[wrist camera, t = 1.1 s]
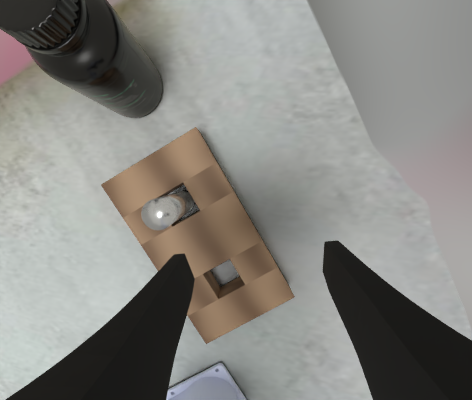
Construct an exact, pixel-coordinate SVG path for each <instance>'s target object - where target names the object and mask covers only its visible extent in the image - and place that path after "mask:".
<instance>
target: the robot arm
mask: <svg viewBox="0 0 472 400" xmlns="http://www.w3.org/2000/svg"><path fill="white" fill-rule="evenodd" d="M323 273H324V277H325V280H326V283H327V286H328V289H329V292H330V294H331V296H332V299H333V301H334V303H335V305H336V308H337V310H338V312H339V314H340V317H341V319H342V321H343V323H344V325H345V328H346V330H347V332H348V334H349V336H350V339H351V341H352V343H353V346H354V348H355V350H356V353H357V355H358V358H359V361H360V364H361V366H362V369H363V372H364V375H365V378H366V380H367V383H368V386H369V389H370V392H371V395H372V398H373V400H472V341H471V340H470V339H468V338H466V337H465V336H463V335H462V334H460V333H458V332H457V331H455V330H454V329H452V328H451V327H449V326H447V325H446V324H444V323H443V322H441V321H440V320H438V319H437V318H435V317H434V316H432V315H431V314H429V313H428V312H427V311H425V310H424V309H422V308H421V307H419V306H418V305H416V304H415V303H414V302H412V301H411V300H409V299H408V298H407V297H405V296H404V295H403V294H401V293H400V292H399V291H397V290H396V289H395V288H393V287H392V286H391V285H390V284H388V283H387V282H386V281H385V280H383V279H382V278H381V277H380V276H378V275H377V274H376V273H375V272H374V271H372V270H371V269H370V268H369V267H367V266H366V265H365V264H364V263H363V262H362V261H361V260H359V259H358V258H357V257H356V256H355V255H354V254H353V253H351V252H350V251H349V250H348V249H347V248H346V247H345V246H344V245H342V244H341V243H340V242H339V241H328V242H325V245H324V260H323ZM194 282H195V278H194V276H193V273H192V271H191V268H190V266H189V263H188V261H187V258H186V255H185V253H183V254H174V255H173V256H172V257H171V258H170V259H169V260H168V261H167V262H166V263H165V265H164V266H163V267H162V268H161V269H160V270H159V271H158V272H157V273H156V275H155V276H154V277H153V278H152V279H151V280H150V281H149V282H148V283H147V284H146V285H145V286H144V288H143V289H142V290H141V291H140V292H139V293H138V294H137V295H136V296H135V297H134V298H133V299H132V300H131V301H130V302H129V303H128V304H127V305H126V306H125V307H124V308H123V309H122V310H121V311H120V312H118V313H117V314H116V315H115V316H114V317H113V318H112V319H111V320H110V321H109V322H107V323H106V324H105V325H104V326H103V327H102V328H101V329H100V330H98V331H97V332H96V333H95V334H94V335H92V336H91V337H90V338H89V339H87V340H86V341H85V342H84V343H82V344H81V345H80V346H79V347H78V348H76V349H75V350H74V351H73V352H71V353H70V354H69V355H67V356H66V357H65V358H64V359H62V360H61V361H60V362H58V363H57V364H56V365H54V366H53V367H52V368H50V369H49V370H47V371H46V372H45V373H43V374H42V375H41V376H39V377H38V378H36V379H35V380H34V381H32V382H31V383H29V384H28V385H26V386H25V387H24V388H22V389H21V390H19V391H18V392H16V393H15V394H13V395H12V396H10V397H9V398H7V399H6V400H247V399H246V398H245V396H244V395H243V393H242V392H241V390H240V389H239V387H238V386H237V384H236V383H235V381H234V380H233V378H232V377H231V375H230V374H229V372H228V371H227V369H226V368H225V366H224V365H223V364H222V363H218V364H216V365H214V366H212V367H211V368H209V369H207V370H205V371H203V372H201V373H199V374H197V375H195V376H193V377H191V378H189V379H187V380H185V381H184V382H182V383H180V384H178V385H176V386H174V387H172V388H170V389H168V387H169V382H170V377H171V372H172V367H173V362H174V358H175V354H176V350H177V346H178V343H179V339H180V336H181V333H182V329H183V326H184V323H185V319H186V316H187V313H188V309H189V306H190V302H191V299H192V293H193V288H194Z"/></svg>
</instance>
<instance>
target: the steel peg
mask: <svg viewBox="0 0 472 400" xmlns="http://www.w3.org/2000/svg"><path fill="white" fill-rule="evenodd" d="M193 207H194V200H193V198H192V196H191V195H190V193H188V192H185V191H182V192H178V193H174V194H170V195H167V196H163V197H159V198H156V199H152V200H149V201H148V202H146V203H145V205H144V206H143V208H142V212H141V216H142V220H143V222H144V223H145V225H146V226H148V227H149V228H151V229H153V230H163V229H166V228H167V227H169V226H170V225H171V224H173V223H174V222H175V221H177V220H178V219H179V218H181V217H182V216H183V215H185V214H186V213H188V212H189V211H190V210H191V209H192V208H193Z"/></svg>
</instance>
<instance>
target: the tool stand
mask: <svg viewBox="0 0 472 400" xmlns="http://www.w3.org/2000/svg"><path fill="white" fill-rule="evenodd" d="M182 185H185V186H186V188H187V190H188V191H189V193H190V195H191V196H192V198H193V200H194V201H195V203H196V204H197V206H198V208H199V209H200V210H198V211H197V212H195V213H193V214H191V215H190V216H188V217H186V218H185V219H183V220H181V221H179V220H177V221H175V222H174V223H173V224H171V225H170V226H169V227H167V228H166V229H163V230H153V229H151V228H149V227H148V226H146V225H145V223H144V222H143V220H142V216H141V212H142V208H143V206H144V205H145V203H146V202H148V201H149V200H152V199H156V198H159V197H163V196H165V195H167V194H169V193H170V192H172V191H174V190H175V189H177V188H179V187H181V186H182ZM101 186H102V187H103V189H104V190H105V192H106V193H107V195H108V196H109V198H110V199H111V201H112V202H113V204H114V205H115V207H116V208H117V210H118V211H119V213H120V214H121V216H122V217H123V219H124V220H125V222H126V223H127V225H128V226H129V228H130V229H131V231H132V232H133V234H134V235H135V237H136V238H137V240H138V241H139V243H140V244H141V246H142V247H143V249H144V250H145V252H146V253H147V255H148V257H149V258H150V260H151V261H152V263H153V264H154V266H155V267H156V269H157V270H158V271H159V270H160V269H161V268H162V267H163V266H164V265H165V263H166V262H167V261H168V260H169V259H170V258H171V257H172V256H173V255H174V254H183V253H185V255H186V258H187V261H188V263H189V266H190V268H191V271H192V273H193V276H194V278H195V282H194V288H193V293H192V299H191V302H190V306H189V309H188V313H187V315H188V317H189V318H190V320H191V321H192V323H193V324H194V326H195V328H196V329H197V331H198V332H199V334H200V335H201V337H202V338H203V340H204V341H205V343H206V344H207V343H209V342H211V341H213V340H215V339H216V338H218V337H220V336H222V335H224V334H226V333H228V332H230V331H232V330H233V329H235V328H237V327H239V326H241V325H243V324H245V323H247V322H249V321H250V320H252V319H254V318H256V317H258V316H260V315H262V314H264V313H266V312H267V311H269V310H271V309H273V308H275V307H277V306H279V305H281V304H283V303H285V302H286V301H288V300H290V299H292V298H294V295H293V293H292V291H291V289H290V287H289V285H288V283H287V281H286V280H285V278H284V276H283V274H282V273H281V271H280V269H279V267H278V266H277V264H276V262H275V261H274V259H273V257H272V255H271V254H270V252H269V250H268V248H267V247H266V245H265V243H264V242H263V240H262V238H261V236H260V235H259V233H258V231H257V230H256V228H255V226H254V224H253V223H252V221H251V219H250V217H249V216H248V214H247V212H246V211H245V209H244V207H243V205H242V204H241V202H240V200H239V198H238V197H237V195H236V193H235V192H234V190H233V188H232V186H231V185H230V183H229V181H228V180H227V178H226V176H225V174H224V173H223V171H222V169H221V167H220V166H219V164H218V162H217V161H216V159H215V157H214V155H213V154H212V152H211V150H210V148H209V147H208V145H207V143H206V142H205V140H204V138H203V136H202V135H201V133H200V132H199V130H198V129H197V128H196V127H195V128H194V129H192V130H190V131H189V132H187V133H185V134H184V135H182V136H180V137H179V138H177V139H176V140H174V141H172V142H171V143H169V144H167V145H166V146H164V147H162V148H161V149H159V150H157V151H156V152H154V153H153V154H151V155H149V156H148V157H146V158H144V159H143V160H141V161H139V162H138V163H136V164H134V165H133V166H131V167H130V168H128V169H126V170H125V171H123V172H121V173H120V174H118V175H116V176H115V177H113V178H111V179H110V180H108V181H107V182H105V183H103V184H102V185H101ZM229 259H230V260H231V262H232V264H233V265H234V267H235V269H236V270H237V272H238V273H239V275H240V277H238V278H236V279H234V280H232V281H231V282H229V283H227V284H225V285H223V286H221V287H220V286H219V284H218V283H217V281H216V279H215V278H214V276H213V275H212V273H211V271H210V270H211V269H213V268H214V267H216V266H218V265H220V264H222V263H223V262H225V261H227V260H229Z"/></svg>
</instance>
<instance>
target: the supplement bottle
mask: <svg viewBox="0 0 472 400" xmlns="http://www.w3.org/2000/svg"><path fill="white" fill-rule="evenodd" d="M0 29H1V30H3V31H4V32H6V33H8V34H9V35H11V36H12V37H14V38H15V39H16V40H17V41H19V42H20V43H22V44H23V45H25V47H26V49H27V51H28V52H29V54H30V55H31V57H32V59H33V60H34V61H35V62H36V64H37V65H38V66H39V67H40V68H41V69H42V70H43V71H44V72H45V73H46V74H48V75H49V76H50V77H52V78H54V79H55V80H57V81H59V82H60V83H62V84H64V85H66V86H68V87H69V88H71V89H73V90H75V91H77V92H79V93H81V94H83V95H84V96H86V97H88V98H90V99H92V100H94V101H96V102H97V103H99V104H101V105H103V106H105V107H107V108H109V109H110V110H112V111H114V112H116V113H118V114H120V115H123V116H126V117H131V118H137V117H142V116H145V115H147V114H149V113H150V112H151V111H153V110H154V109H155V107H156V106H157V105H158V103H159V101H160V98H161V94H162V82H161V77H160V75H159V72H158V70H157V69H156V67H155V65H154V64H153V63H152V61H151V60H150V58H149V57H148V56H147V54H146V53H145V51H144V50H143V49H142V47H141V46H140V45H139V43H138V42H137V40H136V39H135V38H134V36H133V35H132V34H131V32H130V31H129V29H128V28H127V27H126V25H125V24H124V23H123V21H122V20H121V19H120V17H119V16H118V14H117V13H116V12H115V10H114V9H113V8H112V6H111V5H110V4H109V3H108V1H107V0H0Z"/></svg>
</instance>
